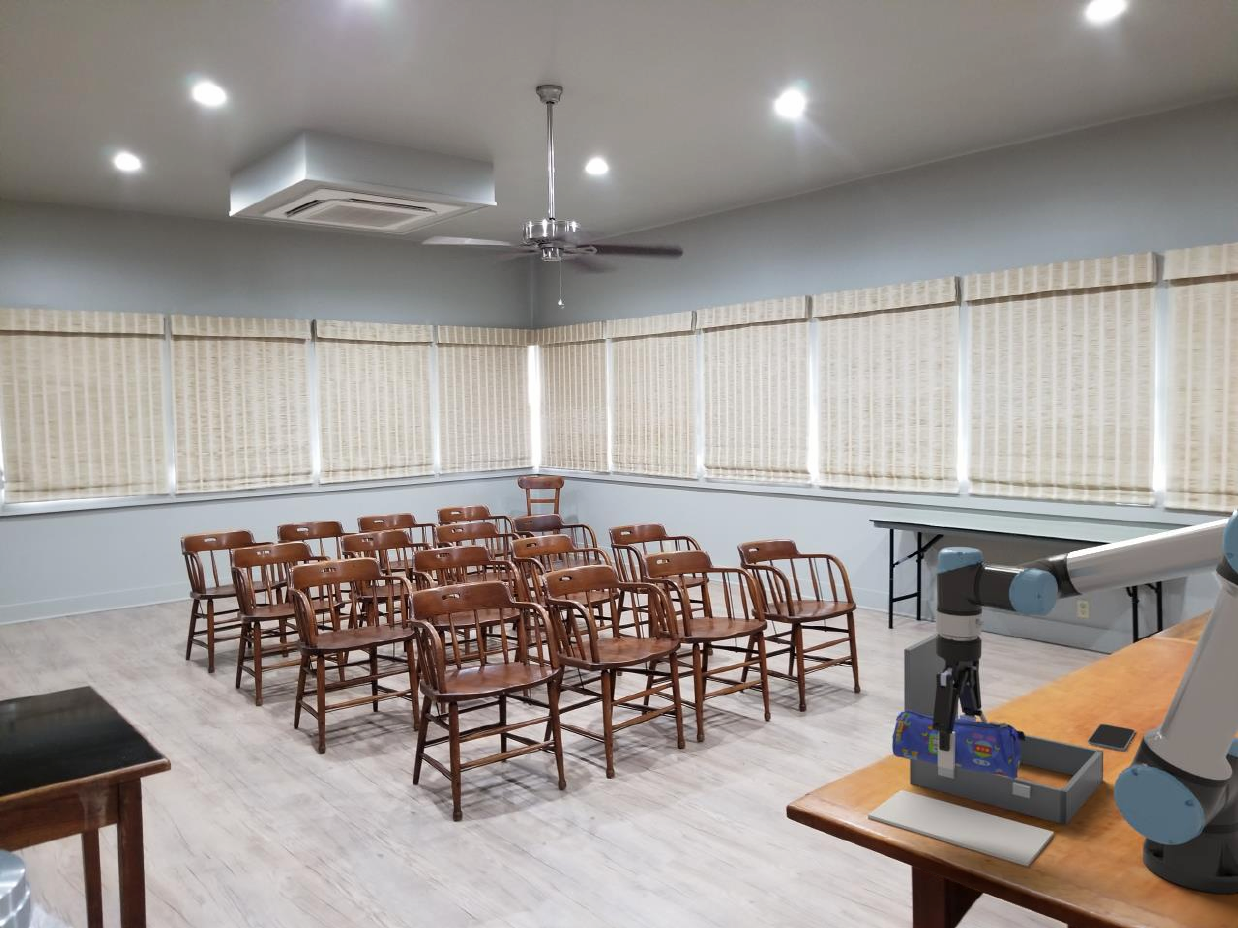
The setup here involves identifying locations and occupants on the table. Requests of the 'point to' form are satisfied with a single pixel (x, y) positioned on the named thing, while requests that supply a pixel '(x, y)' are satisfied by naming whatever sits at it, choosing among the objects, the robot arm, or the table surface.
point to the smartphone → (1111, 737)
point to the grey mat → (963, 827)
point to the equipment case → (994, 787)
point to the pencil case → (960, 743)
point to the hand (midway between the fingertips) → (957, 758)
